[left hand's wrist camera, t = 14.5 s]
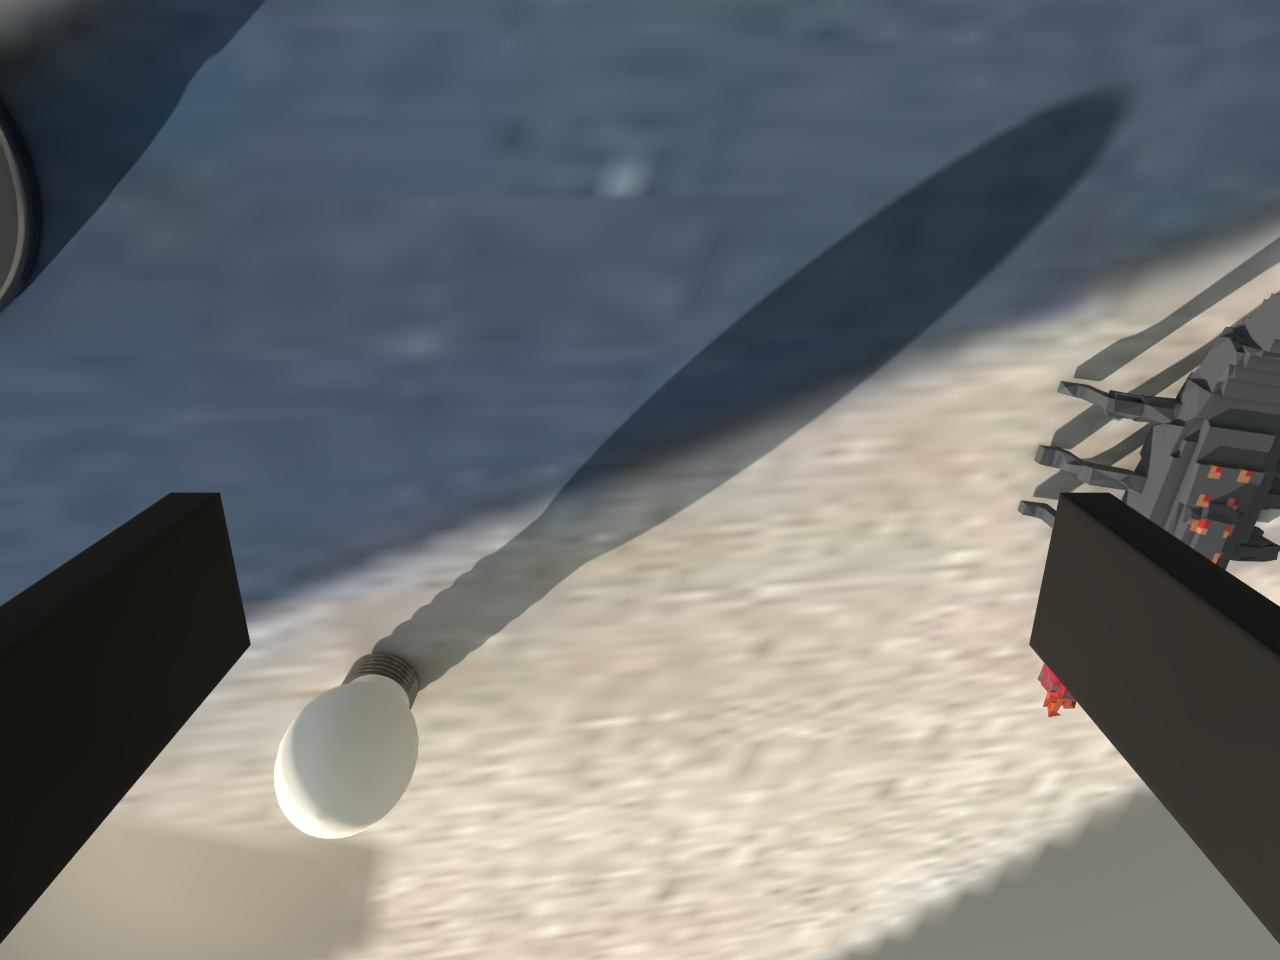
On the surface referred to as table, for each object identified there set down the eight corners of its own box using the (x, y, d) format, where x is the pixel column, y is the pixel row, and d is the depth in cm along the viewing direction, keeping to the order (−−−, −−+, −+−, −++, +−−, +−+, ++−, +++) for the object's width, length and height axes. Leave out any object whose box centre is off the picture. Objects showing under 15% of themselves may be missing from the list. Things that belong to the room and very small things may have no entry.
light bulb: (309, 688, 47) (218, 830, 37) (367, 609, 45) (287, 736, 35) (406, 744, 49) (344, 895, 38) (466, 670, 47) (417, 808, 37)
